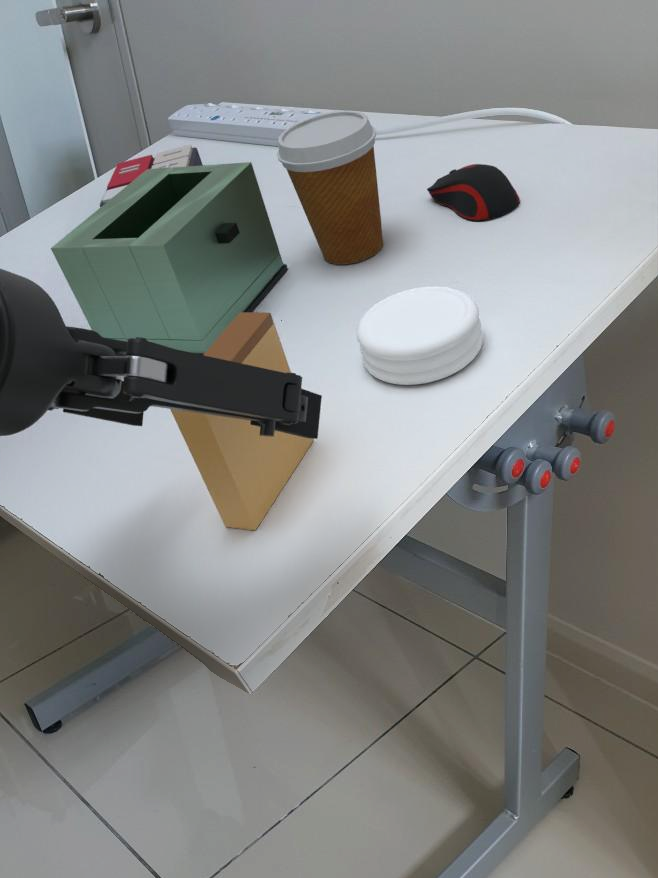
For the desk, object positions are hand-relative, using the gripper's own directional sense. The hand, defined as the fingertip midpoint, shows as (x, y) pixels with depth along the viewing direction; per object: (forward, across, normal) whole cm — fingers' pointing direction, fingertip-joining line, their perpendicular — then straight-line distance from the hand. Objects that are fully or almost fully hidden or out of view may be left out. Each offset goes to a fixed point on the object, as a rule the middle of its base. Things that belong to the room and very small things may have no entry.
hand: (223, 411), depth 57 cm
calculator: (+42, -41, +30) cm, 66 cm away
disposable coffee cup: (+32, -8, +20) cm, 39 cm away
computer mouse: (+39, +2, +28) cm, 48 cm away
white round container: (+19, +6, +8) cm, 21 cm away
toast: (+7, 0, -4) cm, 8 cm away
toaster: (+23, -20, +12) cm, 33 cm away
